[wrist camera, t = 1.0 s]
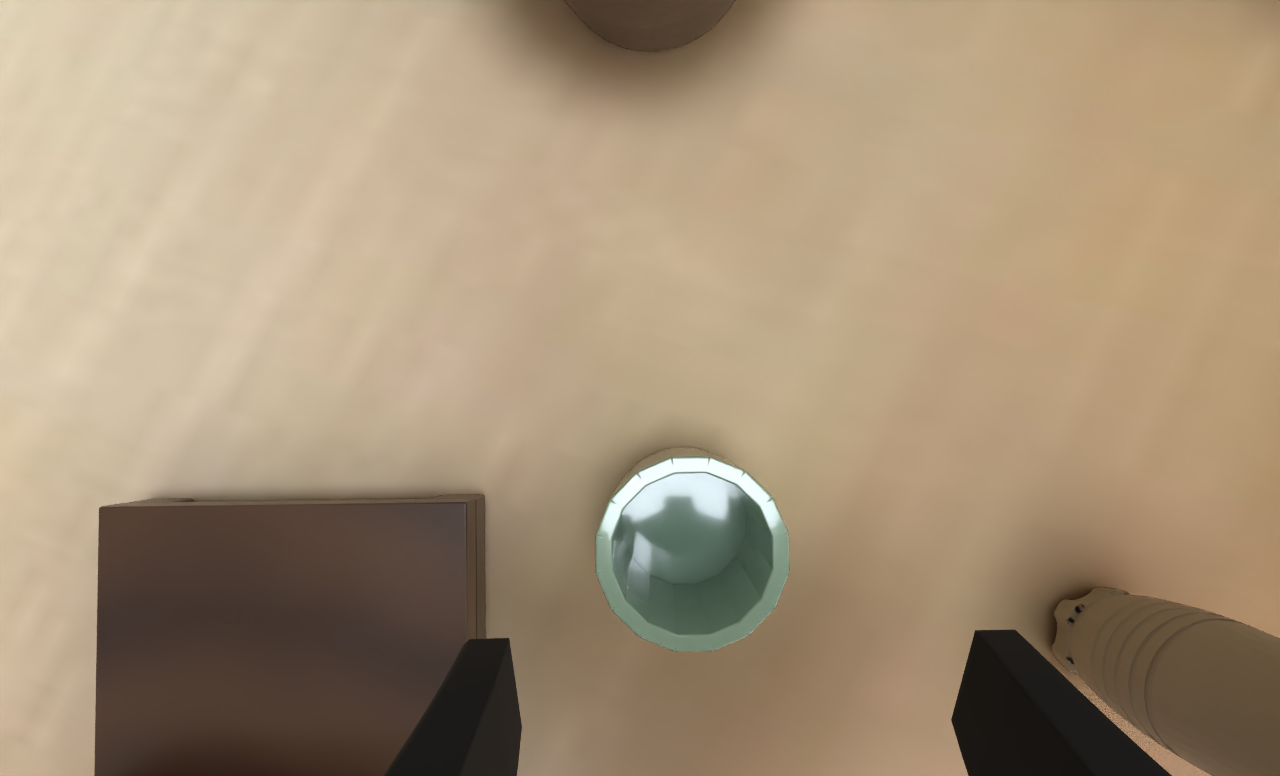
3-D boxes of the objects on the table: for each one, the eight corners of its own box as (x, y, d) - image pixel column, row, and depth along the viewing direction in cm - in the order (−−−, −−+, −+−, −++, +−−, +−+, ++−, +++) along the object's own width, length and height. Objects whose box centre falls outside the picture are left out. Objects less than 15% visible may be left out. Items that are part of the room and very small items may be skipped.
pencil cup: (757, 592, 26) (791, 651, 19) (611, 593, 26) (596, 652, 19) (754, 446, 26) (787, 455, 19) (609, 448, 26) (594, 457, 19)
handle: (979, 664, 25) (1450, 1019, 10) (1087, 514, 25) (1709, 649, 10) (1094, 750, 25) (1749, 1242, 10) (1203, 599, 25) (2006, 861, 10)
